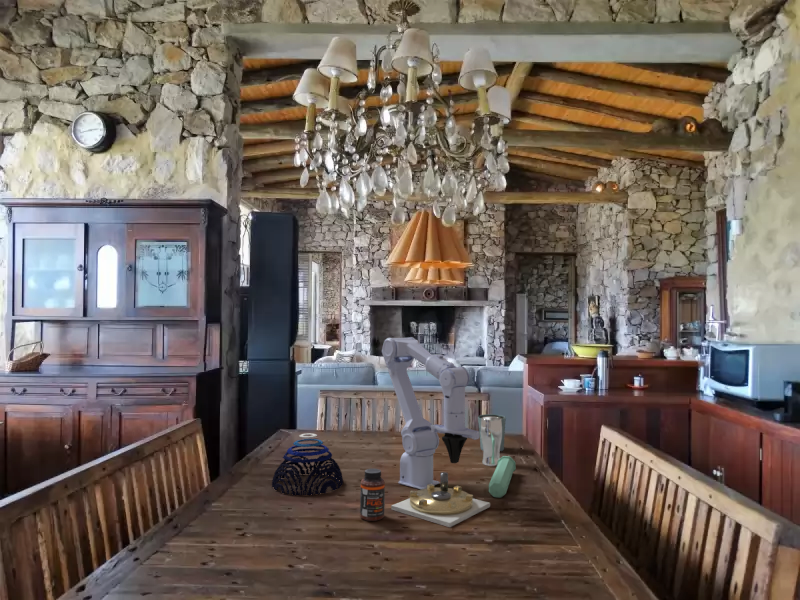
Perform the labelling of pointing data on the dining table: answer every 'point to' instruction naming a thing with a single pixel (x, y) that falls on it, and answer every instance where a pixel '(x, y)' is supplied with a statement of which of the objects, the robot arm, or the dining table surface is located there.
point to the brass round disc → (441, 499)
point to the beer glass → (491, 439)
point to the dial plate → (441, 519)
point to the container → (502, 476)
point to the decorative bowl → (320, 460)
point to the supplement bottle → (372, 496)
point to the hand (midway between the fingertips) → (454, 462)
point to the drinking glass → (502, 428)
